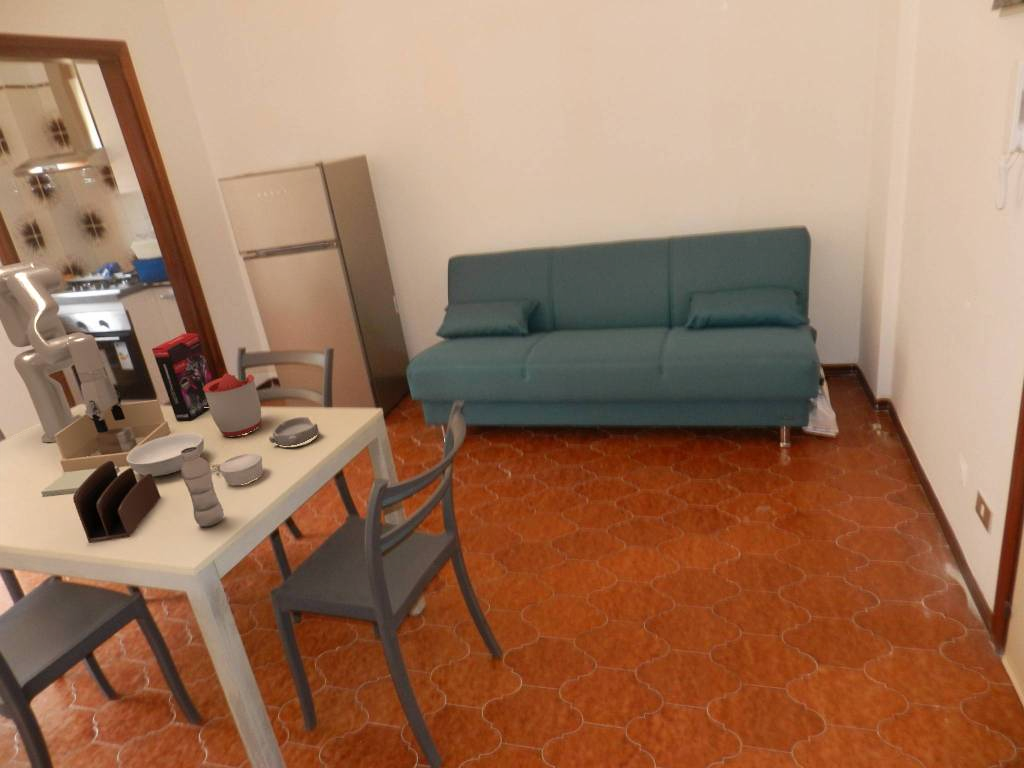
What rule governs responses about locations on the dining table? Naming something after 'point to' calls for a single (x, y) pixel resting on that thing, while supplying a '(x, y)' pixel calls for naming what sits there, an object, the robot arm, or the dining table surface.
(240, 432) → the citrus juicer
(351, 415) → the dining table surface
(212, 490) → the plastic bottle
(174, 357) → the graphics card box
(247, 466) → the ramekin
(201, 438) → the serving bowl
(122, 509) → the letter holder
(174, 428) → the dining table surface
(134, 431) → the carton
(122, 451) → the walnut box
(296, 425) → the dish
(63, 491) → the board
